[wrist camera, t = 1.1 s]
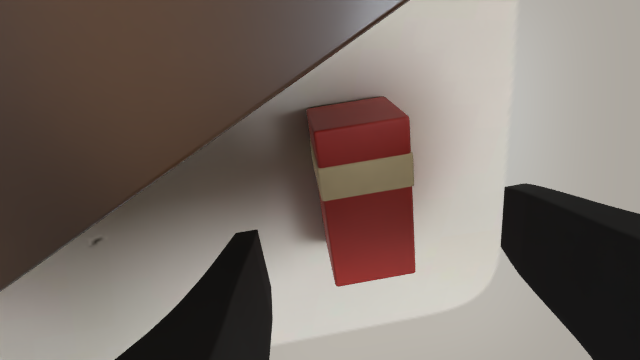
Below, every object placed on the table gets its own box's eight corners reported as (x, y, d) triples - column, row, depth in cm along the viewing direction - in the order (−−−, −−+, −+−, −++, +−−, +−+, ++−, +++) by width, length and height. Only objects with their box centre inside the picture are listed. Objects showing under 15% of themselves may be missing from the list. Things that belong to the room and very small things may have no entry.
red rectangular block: (394, 229, 17) (417, 274, 14) (325, 242, 17) (335, 289, 14) (385, 95, 14) (412, 116, 12) (304, 108, 14) (311, 132, 12)
